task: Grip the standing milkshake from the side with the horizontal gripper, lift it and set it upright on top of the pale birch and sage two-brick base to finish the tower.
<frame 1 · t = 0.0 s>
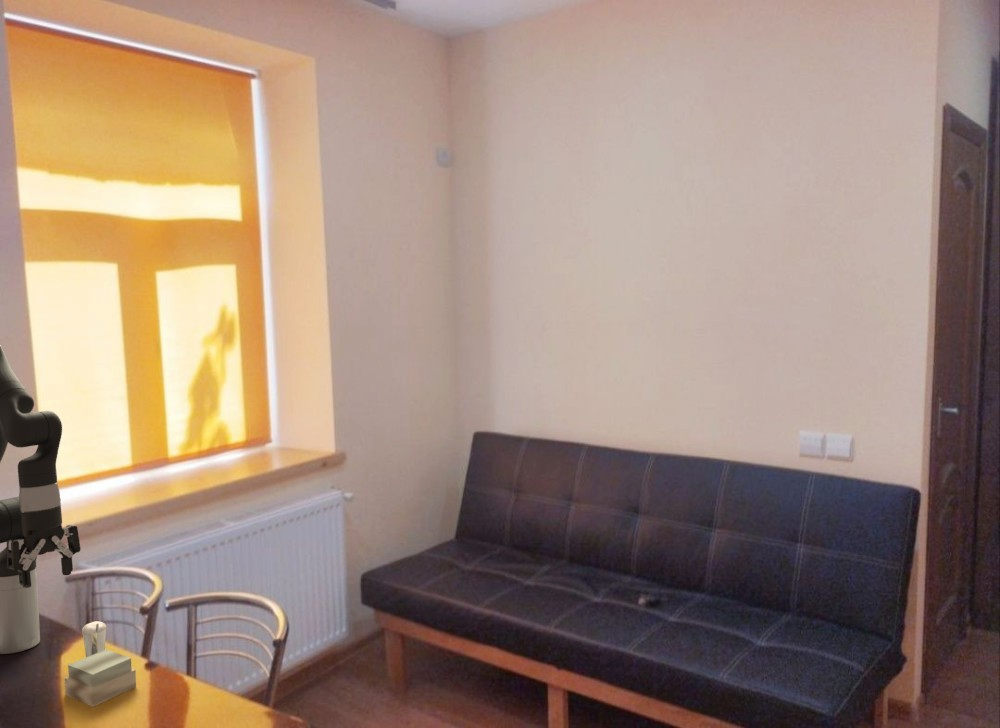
hand: (47, 580, 169), 17 cm above the table, tool pointing down, fingers open, 8 cm apart
milkshake: (96, 666, 167), on the table
tower base: (101, 690, 156), on the table
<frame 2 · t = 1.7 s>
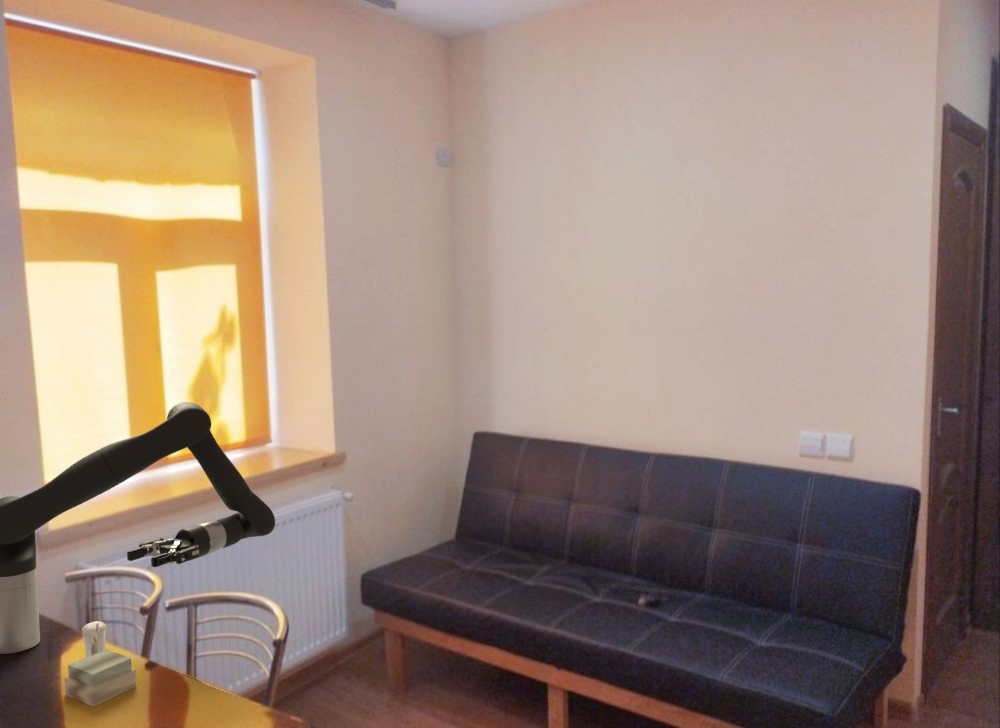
hand: (140, 559, 174), 20 cm above the table, tool horizontal, fingers open, 8 cm apart
nothing on the table moved.
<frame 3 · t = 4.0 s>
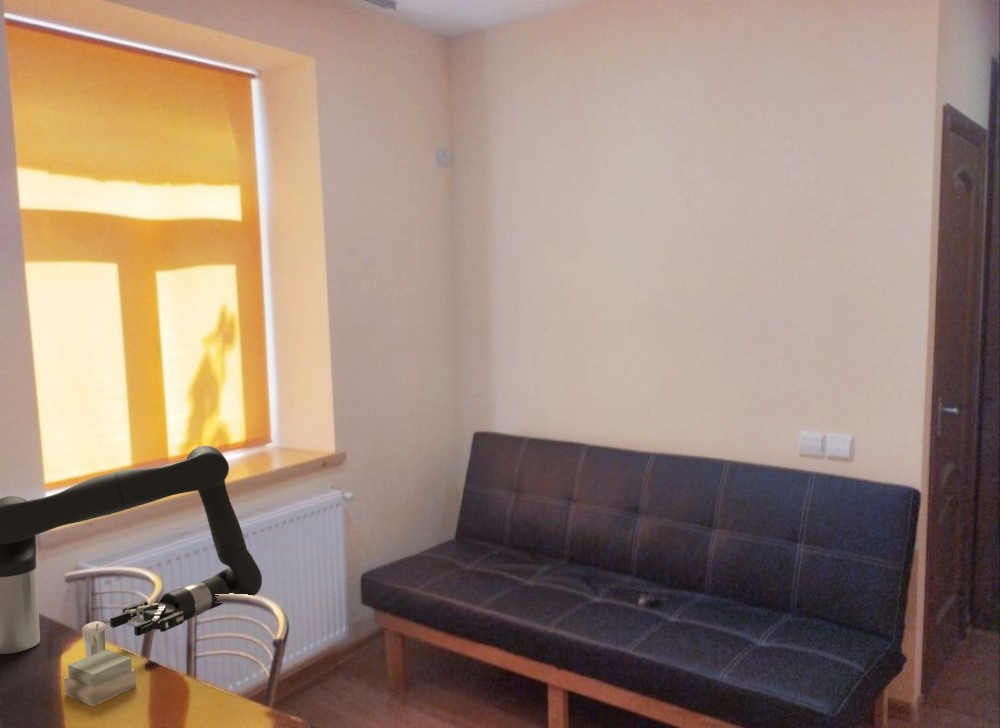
hand: (123, 627, 172), 6 cm above the table, tool horizontal, fingers open, 8 cm apart
nothing on the table moved.
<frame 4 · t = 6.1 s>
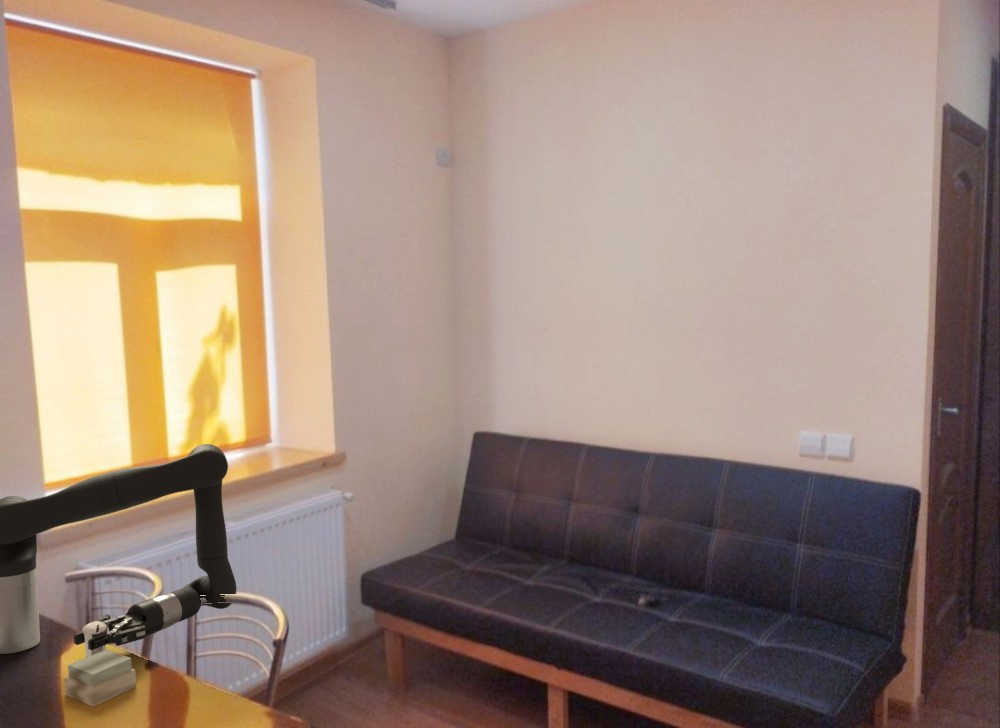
hand: (82, 642, 164), 6 cm above the table, tool horizontal, fingers closed on milkshake, 4 cm apart
milkshake: (96, 666, 167), on the table, touching gripper
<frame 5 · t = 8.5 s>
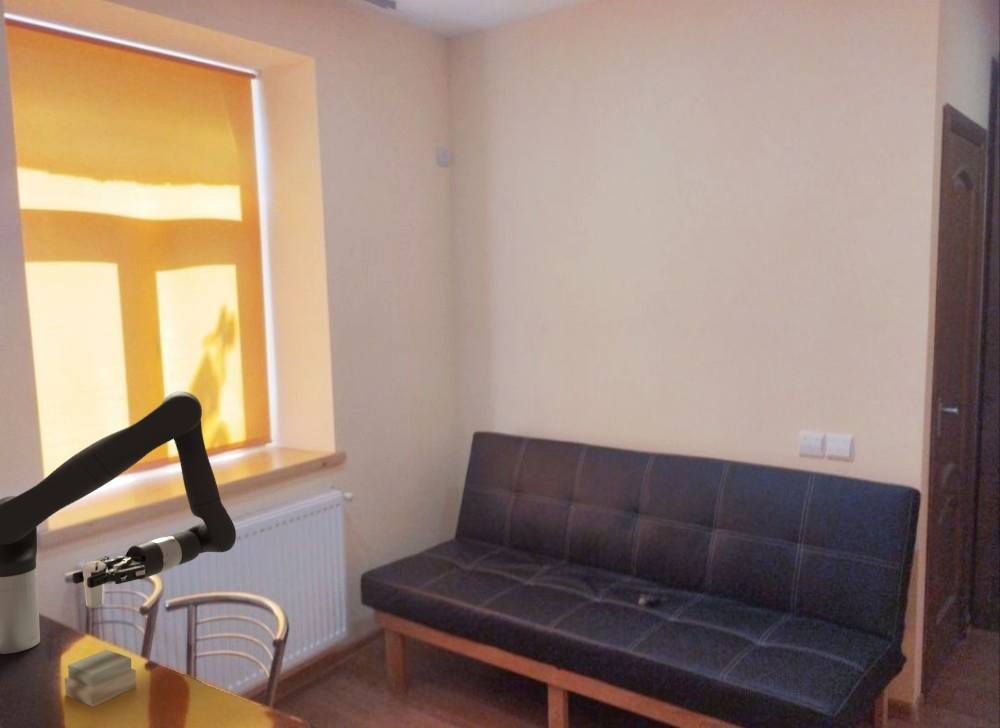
hand: (81, 580, 162), 20 cm above the table, tool horizontal, fingers closed on milkshake, 4 cm apart
milkshake: (95, 605, 164), point 13 cm above the table, touching gripper
when the fingers open (13 cm above the table, at t = 11.1 s): milkshake drops 1 cm, resting on tower base.
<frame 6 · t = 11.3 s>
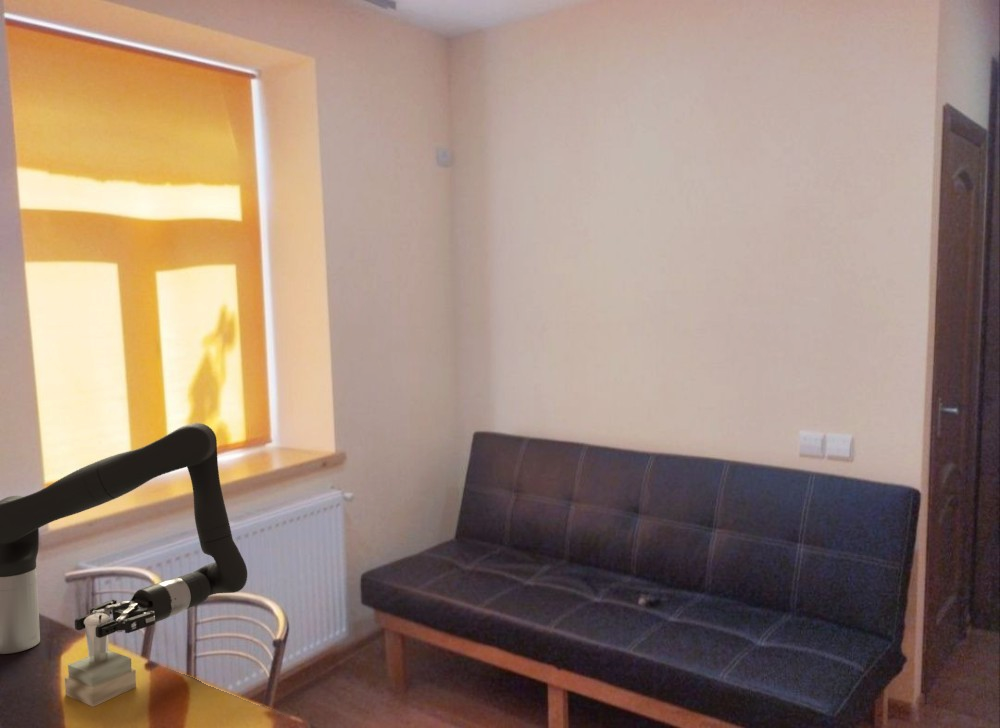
hand: (86, 628, 153), 13 cm above the table, tool horizontal, fingers open, 6 cm apart
milkshake: (99, 661, 156), point 6 cm above the table, touching tower base
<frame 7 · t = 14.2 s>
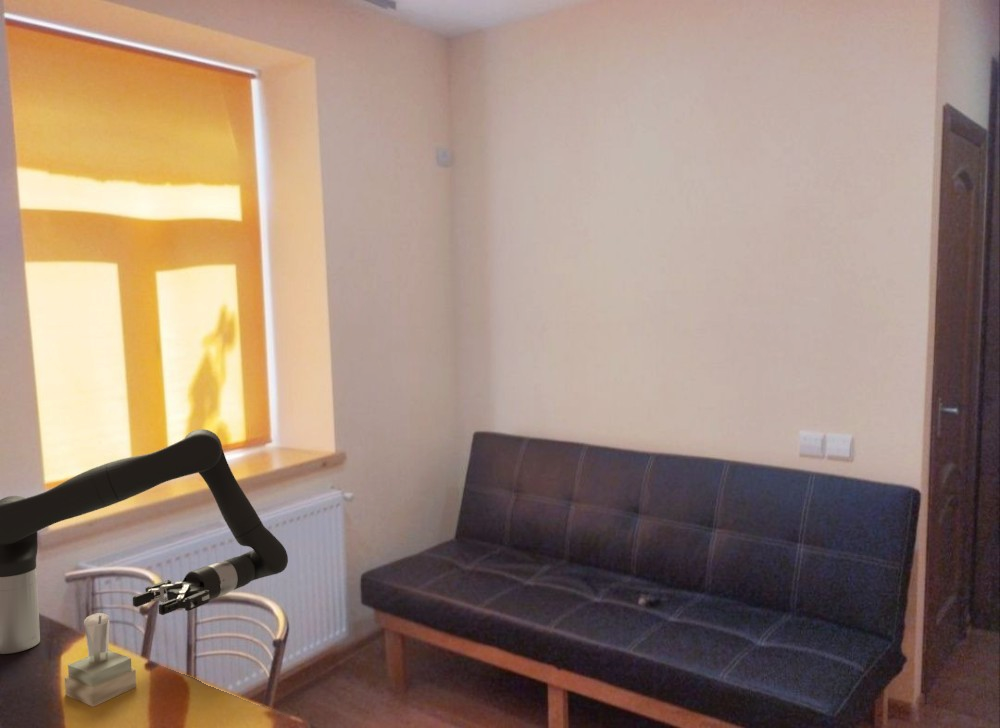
hand: (146, 606, 164), 14 cm above the table, tool horizontal, fingers open, 8 cm apart
nothing on the table moved.
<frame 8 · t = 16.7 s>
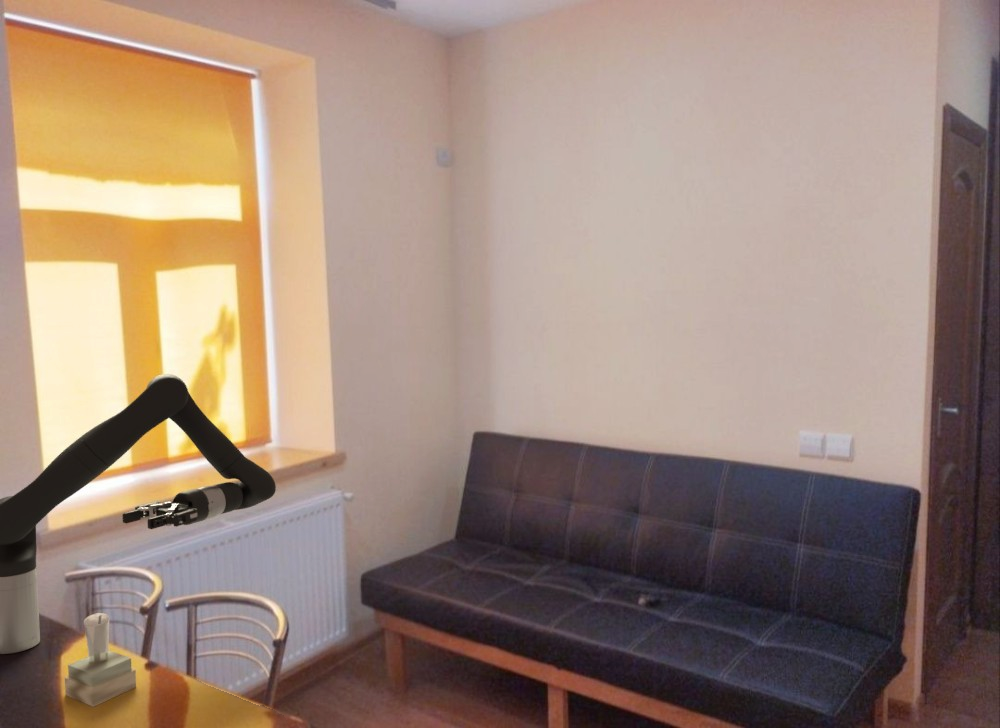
hand: (136, 521, 168), 30 cm above the table, tool horizontal, fingers open, 8 cm apart
nothing on the table moved.
at the end: milkshake 0.5 cm off-centre on the tower base, point 5.8 cm above the tower base's base; milkshake tilted 0°; the gripper is holding nothing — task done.
